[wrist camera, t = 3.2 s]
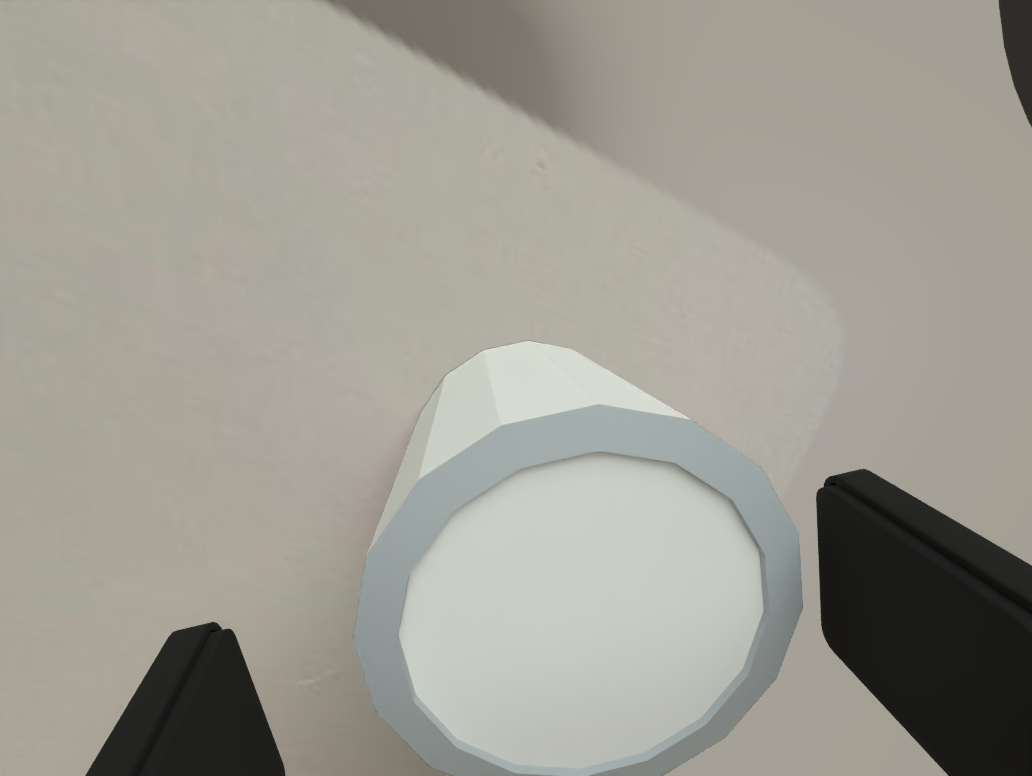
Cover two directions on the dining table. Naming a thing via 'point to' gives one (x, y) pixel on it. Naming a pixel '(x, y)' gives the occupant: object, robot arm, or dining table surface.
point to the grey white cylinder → (571, 577)
